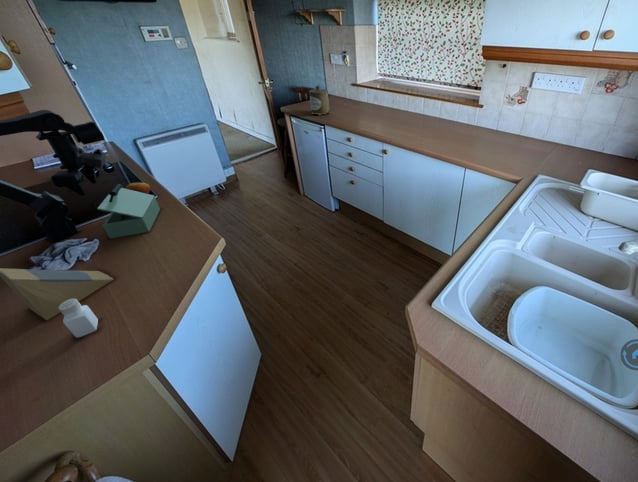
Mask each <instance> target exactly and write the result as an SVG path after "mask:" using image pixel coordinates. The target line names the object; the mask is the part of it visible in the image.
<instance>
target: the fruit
mask: <svg viewBox="0 0 638 482" xmlns="http://www.w3.org/2000/svg"><path fill="white" fill-rule="evenodd" d="M125 189H129V190H133V191H137V192H141V193H146V194H149V193H150V190H151V185H150V184H149V183H146V182H131V183H130V184H127V185H126V186H125Z"/></svg>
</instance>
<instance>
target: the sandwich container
mask: <svg viewBox="0 0 638 482" xmlns="http://www.w3.org/2000/svg"><path fill="white" fill-rule="evenodd" d="M0 278H1V279H2V280H3V282H5V283H6V284H7V286H9V288H10V289H11V290H12V291H13V292H14V293H15V294H16V296H18V297H19V298H20V300H21V301H22V302H23V303H24V304H25V305H26V306H27V307H28V308H29V309H30V310H31V311H32V312H34V313H35V314H36V315H38V316H39V317H41V318H42V319H44V320H45V321H49V320H50V319H52V318H54V317H55V316H57V315H59V314H61V311H60V310H59V308H58V307H59V306H60V304H62V303H63V302H64V301H67V300H69V299H77V300H78V302H80V301H82V300H83V299H85V298H86V297H88V296H90V295H92V294H93V293H94V292H96V291H98V290H100V289H101V288H102V287H104V286H106V285H108V284H109V283H111V282H112V281H114V278H113V277H112V276H110V275H108V274H107V273H104V272H102V271H100V270H69V269H68V270H67V269H31V268H29V269H28V268H4V267H3V268H1V267H0Z"/></svg>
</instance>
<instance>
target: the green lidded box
mask: <svg viewBox="0 0 638 482" xmlns="http://www.w3.org/2000/svg"><path fill="white" fill-rule="evenodd" d="M160 211H161V208H160V206H159V203H158V201H157V199H156V197H155V196H154V198H153V200H152V202H151V204H150V205H149V207H148V209H147V211H146V213H145V214H144V216H143V218H137V217H132V216H127V215H122V214H117V213H112V212H110V214H109V215H108V217H107V218H106V220H105V221H104V222H103V224H102V227H103V230H104V231H105V233H106V234H107V236H108V238H109V239H116V238H122V237H128V236H133V235H138V234H145V233H149V232H150V231H151V229H152V227H153V225H154V223H155V221H156V219H157V217H158V215H159V213H160Z"/></svg>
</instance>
